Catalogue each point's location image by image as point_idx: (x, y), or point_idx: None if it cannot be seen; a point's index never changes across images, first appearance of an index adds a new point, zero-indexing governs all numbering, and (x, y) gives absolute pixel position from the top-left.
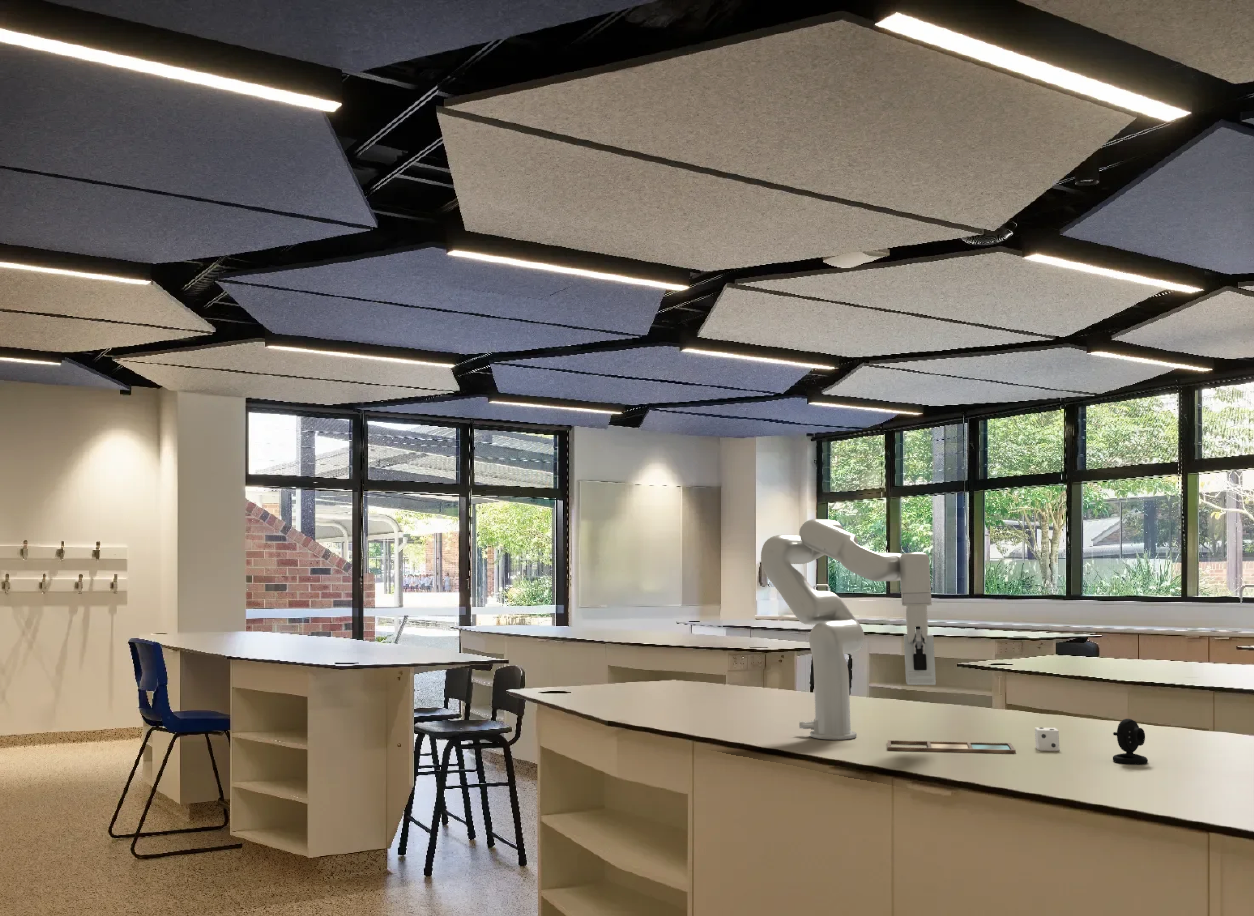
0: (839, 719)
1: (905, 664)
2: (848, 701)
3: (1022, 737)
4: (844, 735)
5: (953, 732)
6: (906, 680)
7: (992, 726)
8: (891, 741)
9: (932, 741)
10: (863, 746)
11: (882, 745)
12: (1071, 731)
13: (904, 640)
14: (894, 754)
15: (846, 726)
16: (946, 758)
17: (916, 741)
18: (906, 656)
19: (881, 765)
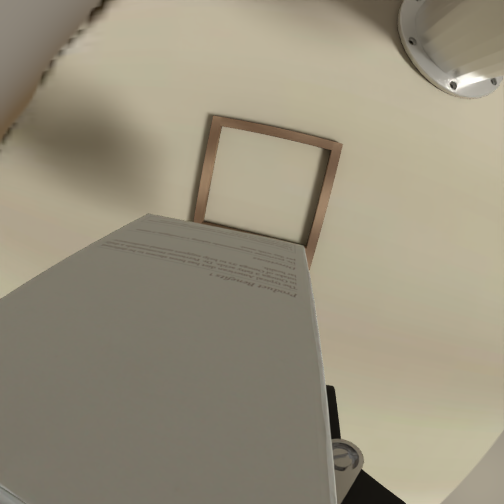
0: (434, 23)
1: (155, 259)
2: (488, 48)
3: (363, 440)
4: (408, 44)
5: (463, 351)
6: (169, 221)
7: (485, 417)
8: (331, 152)
9: (307, 263)
10: (289, 65)
11: (305, 119)
12: (392, 488)
13: (29, 415)
14: (155, 124)
15: (438, 52)
16: (108, 234)
17: (313, 221)
18: (42, 275)
19: (45, 91)
